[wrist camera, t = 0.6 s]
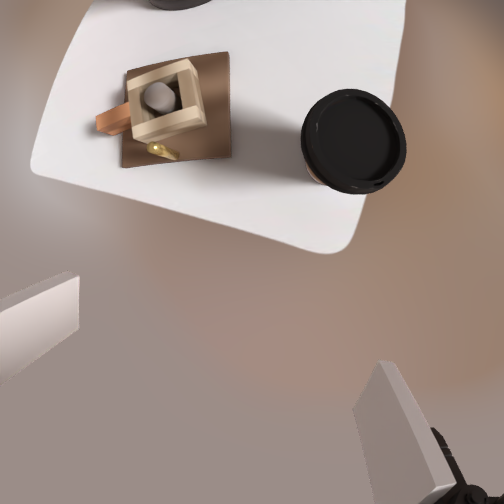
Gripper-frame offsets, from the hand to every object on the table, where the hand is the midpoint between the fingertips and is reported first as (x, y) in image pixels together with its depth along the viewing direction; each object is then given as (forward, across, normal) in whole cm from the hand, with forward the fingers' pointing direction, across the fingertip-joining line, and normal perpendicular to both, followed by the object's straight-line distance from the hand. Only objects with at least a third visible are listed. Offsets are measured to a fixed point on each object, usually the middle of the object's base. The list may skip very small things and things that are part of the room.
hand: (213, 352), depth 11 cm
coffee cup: (+26, +5, +12) cm, 29 cm away
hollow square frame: (+24, -17, +13) cm, 33 cm away
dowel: (+24, -13, +8) cm, 29 cm away
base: (+26, -15, +14) cm, 33 cm away
